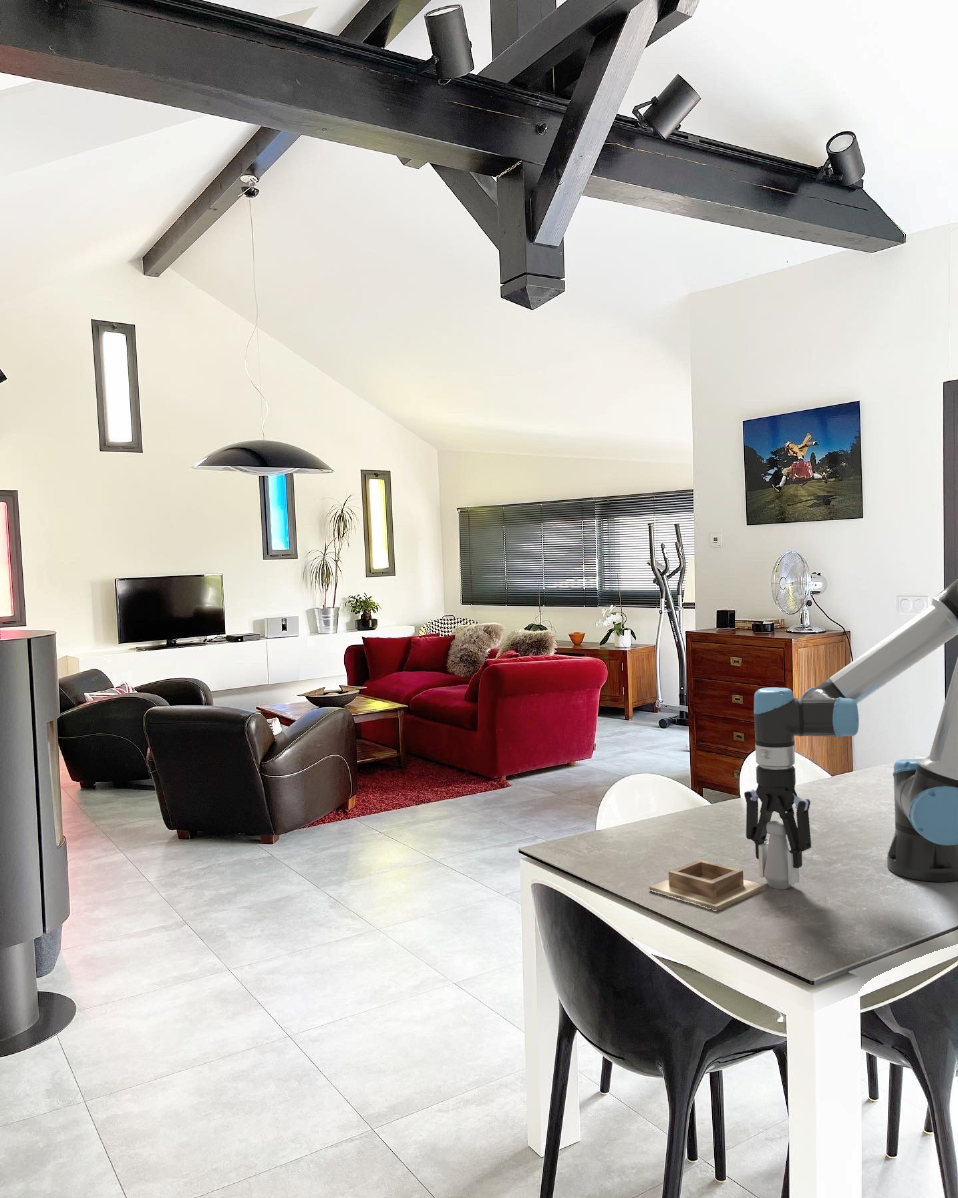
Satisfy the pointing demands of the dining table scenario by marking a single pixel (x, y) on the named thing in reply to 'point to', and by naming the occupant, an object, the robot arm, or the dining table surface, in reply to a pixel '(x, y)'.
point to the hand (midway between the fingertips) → (779, 879)
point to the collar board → (708, 884)
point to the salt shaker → (777, 856)
